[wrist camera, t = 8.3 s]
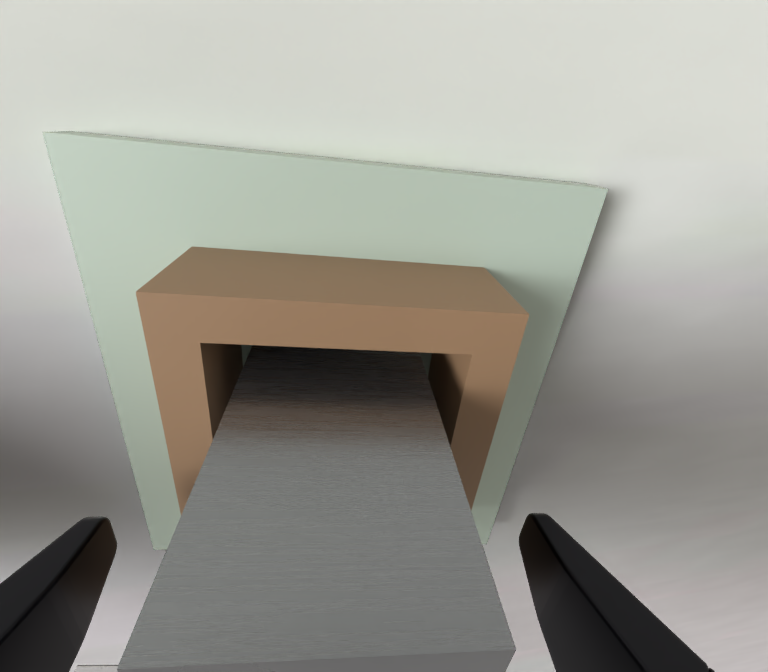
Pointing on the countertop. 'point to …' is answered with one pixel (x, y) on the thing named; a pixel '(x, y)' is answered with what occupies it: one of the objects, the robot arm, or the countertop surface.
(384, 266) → the post socket
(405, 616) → the brushed grey metal block
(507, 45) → the countertop surface
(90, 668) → the hinge
